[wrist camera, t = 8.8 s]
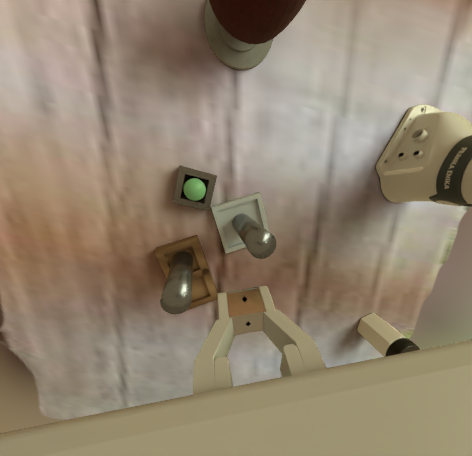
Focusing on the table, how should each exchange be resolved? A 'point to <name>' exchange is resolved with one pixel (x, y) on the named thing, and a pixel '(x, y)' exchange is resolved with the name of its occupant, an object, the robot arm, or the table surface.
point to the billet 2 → (254, 236)
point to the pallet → (201, 274)
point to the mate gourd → (246, 28)
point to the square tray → (230, 209)
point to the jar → (384, 336)
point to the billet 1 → (178, 284)
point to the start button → (194, 189)
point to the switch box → (180, 183)
